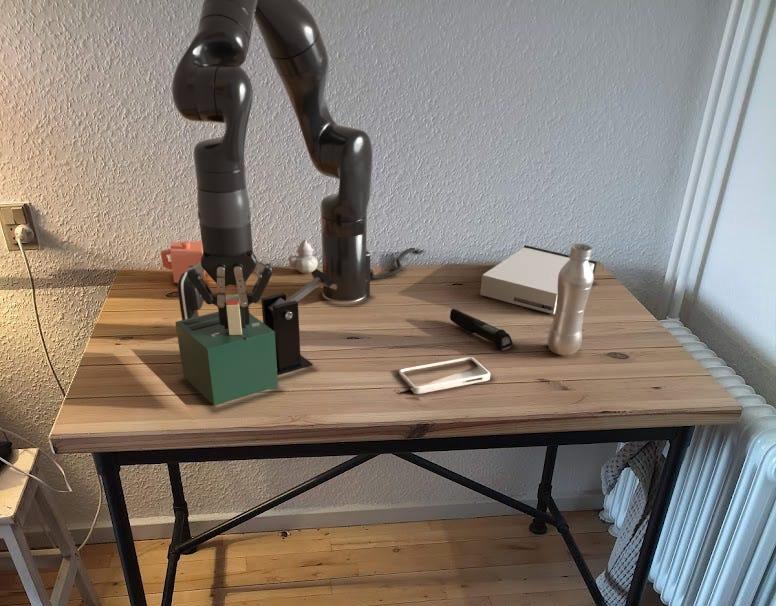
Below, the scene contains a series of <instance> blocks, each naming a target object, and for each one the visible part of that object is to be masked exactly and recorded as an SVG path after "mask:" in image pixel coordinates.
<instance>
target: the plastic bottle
mask: <svg viewBox="0 0 776 606" xmlns="http://www.w3.org/2000/svg"><path fill="white" fill-rule="evenodd" d="M592 249H593V248H592V246H590V245H589V244H585V243H573V244H572V245H571V247H570V251H569V254H568V255H569V258H570V260H569V261H568V262H567V263H566V264H565V265H564V266H563V267H562V269H561V270H560V272H559V274H558V293H557V304H556V311H555V314H553V319H552V322H551V326H550V328H549V331H548V333H547V336H546V337H547V343H546V344H547V347H548V349H549V350H550V351H551V352H552V353H554V354H556V355H560V356H571V355H574V354H576V353H577V351H578V350H579V349H580V348H581V345H582V341H583V323H584V314H585V311H586V306H587V302H588V298H589V295H590V293H591V289H592V287H593V284H594V279H595V273H594V274H593V271H592V268H591V266H590V264H589V262H588V260H591V258H592Z"/></svg>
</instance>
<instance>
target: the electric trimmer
mask: <svg viewBox="0 0 776 606" xmlns="http://www.w3.org/2000/svg"><path fill="white" fill-rule="evenodd" d="M449 320H450V321H451V322H452V323H454V324H455V325H457V326H458V327H460V328H461V329H462V330H464V331H465V332H467V333H468V334H474V335H477V336H479V337H481V338H483V339H485V340H486V341H488V342H490V343H492V344H494V345H495V347H496V349H497V350H502V351H505V350H508V349H510V348H511V347H512V346H513V340H512V337H511V335H510V334H509V332H506V331H505V330H504V329H502V328H498V327H495V326H493V325H491V324H489V323H487V322H485V321H483V320H481V319H478V318H476V317H474V316H471V315H469V314H467V313H465V312H463V311H460V310H459V309H456V308H452V309H451V310H450V313H449Z"/></svg>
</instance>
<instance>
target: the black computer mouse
mask: <svg viewBox="0 0 776 606" xmlns="http://www.w3.org/2000/svg"><path fill="white" fill-rule="evenodd" d="M177 283H178V284H177V294H178V301H179V308H180V315H181V320H185V319H190V318H194V317H198V316H200V315H199V313H198V311H200V310H201V309H202V308H203V304H204V302H205V301H204V299H203V298H202V296H201V295H200V294H199V292H198V291H197V289H196V288H195V286H194V285H193V284H192V282H191V281H190V279H189V278H188V276H187V272H186V273H183V274H182V275H181V277H180V279H179V281H178V282H177Z"/></svg>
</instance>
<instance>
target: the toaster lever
mask: <svg viewBox="0 0 776 606" xmlns="http://www.w3.org/2000/svg"><path fill="white" fill-rule="evenodd" d="M310 274H311V276H312V278H313V279H312V280H310V282H307V284H306V285H304V286H303V287H301V288H300V289H299V290H298V291H296V292H295V293H294V294H292V295H291V296H289V297H288V298H286V301H285V300H283V299H282V298H279V299H278V300H277V301H275V302H274V303H273V304H271V305H270V306H269V307H268V308H269V310H270V312H271V314H272V316H273V306H274V305H278V304H282V303H286V302H290V301H294V300H295V301H297V302H298V303H299V302H300V301H301V300H302V299H303V298H305V297H306V296H308V295H309V294H310V293H312V292H313V291H314V290H316V289H317V288H319V286H321V285H323V284H324V285H326V286H327V287H330V286H331V285H332V284H334V282H333V280H332V278H331V277H329V276H328V275H326V274H324V273H322V270H319V269H317V268H316V269H315V270H314V271H313V272H311V273H310Z"/></svg>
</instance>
